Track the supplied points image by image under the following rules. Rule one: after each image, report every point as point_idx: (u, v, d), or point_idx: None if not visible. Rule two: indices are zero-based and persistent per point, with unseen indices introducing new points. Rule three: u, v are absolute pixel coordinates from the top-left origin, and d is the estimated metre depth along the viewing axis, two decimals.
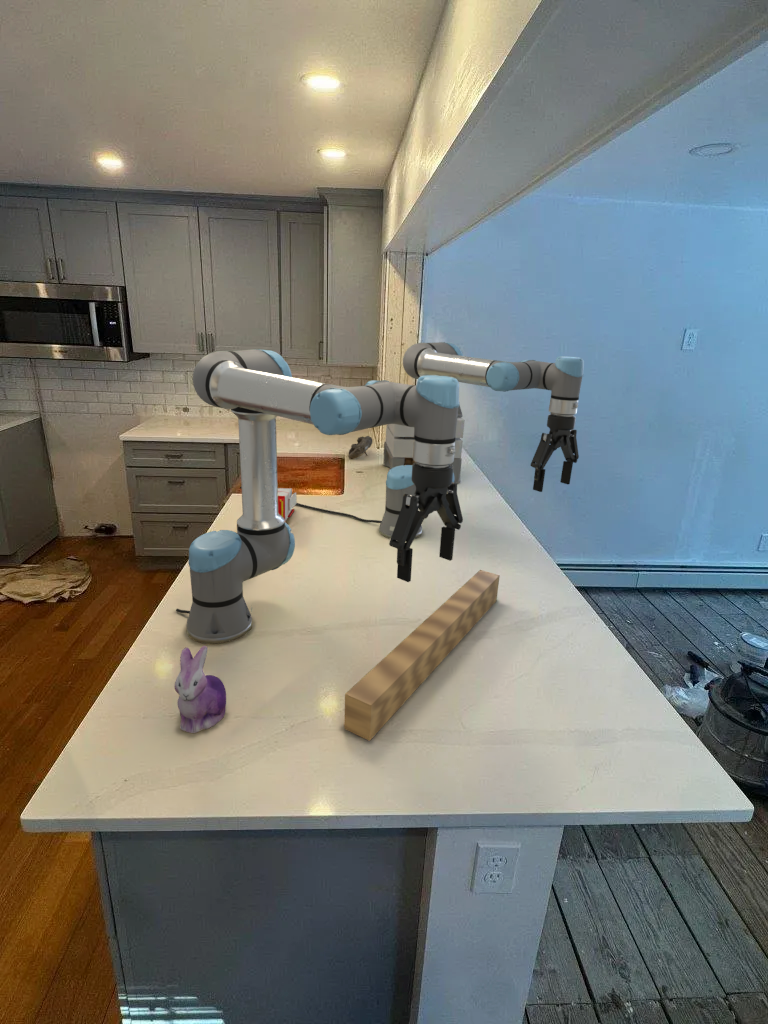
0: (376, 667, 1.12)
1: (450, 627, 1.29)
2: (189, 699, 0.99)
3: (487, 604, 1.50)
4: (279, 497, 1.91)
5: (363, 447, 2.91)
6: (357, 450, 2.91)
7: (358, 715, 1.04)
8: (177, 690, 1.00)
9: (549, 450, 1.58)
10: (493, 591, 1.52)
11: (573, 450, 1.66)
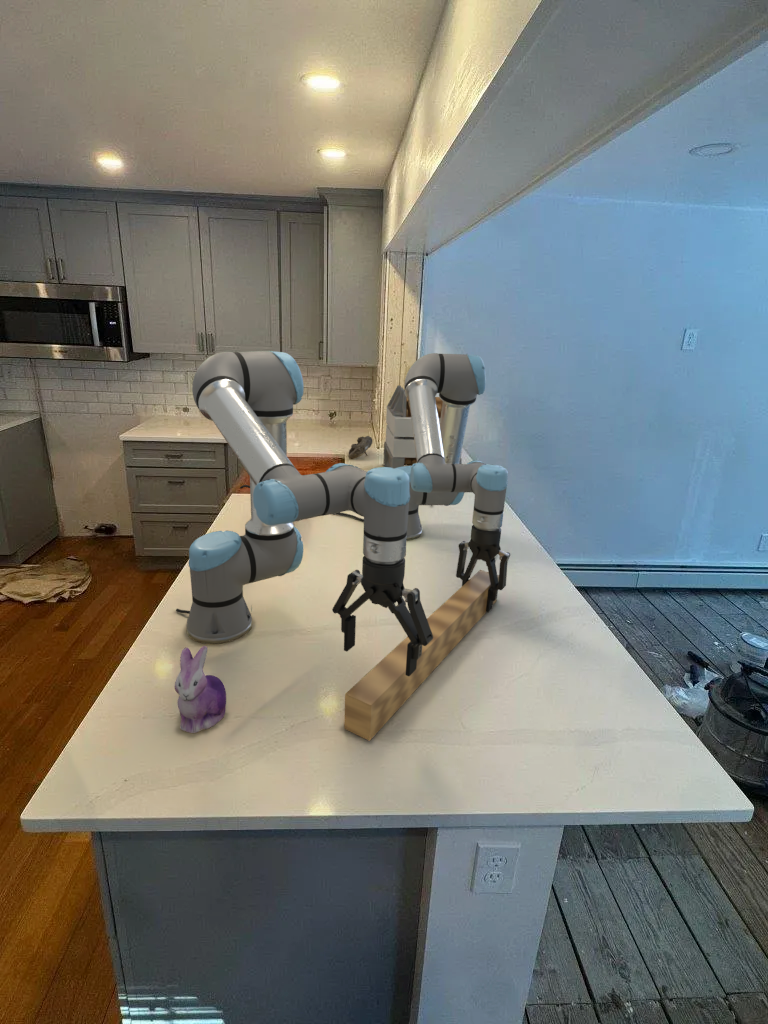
0: (376, 667, 1.12)
1: (450, 627, 1.29)
2: (189, 699, 0.99)
3: None
4: None
5: (363, 447, 2.91)
6: (357, 450, 2.91)
7: (358, 715, 1.04)
8: (177, 690, 1.00)
9: None
10: None
11: None
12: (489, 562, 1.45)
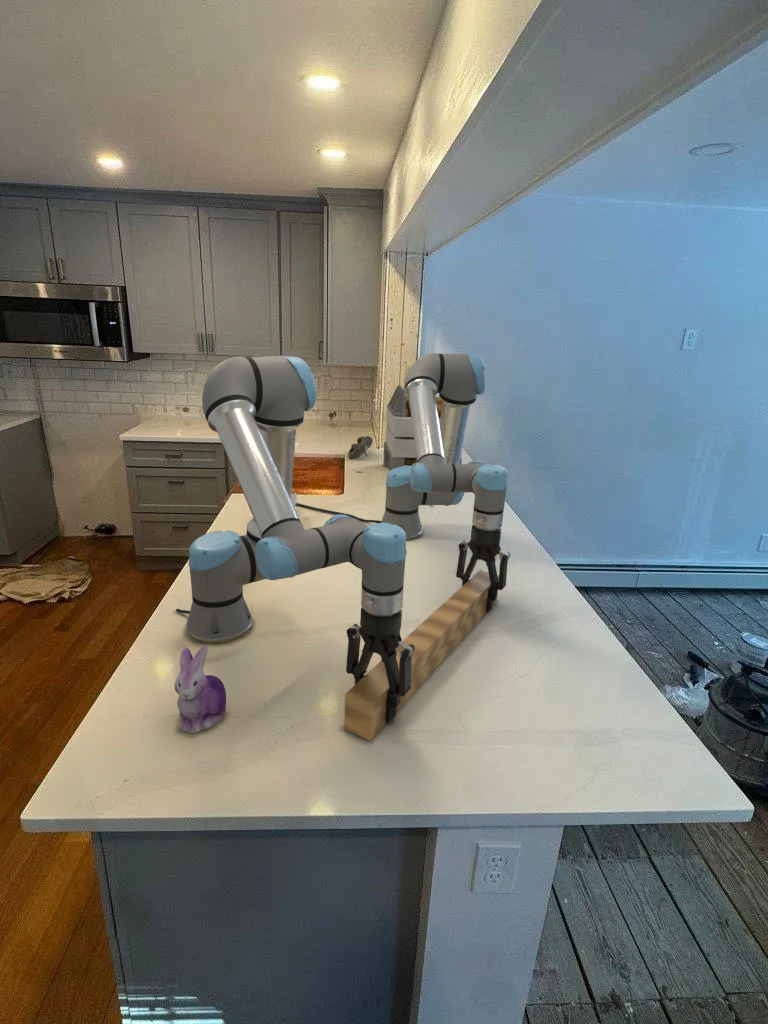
0: (376, 667, 1.12)
1: (450, 627, 1.29)
2: (189, 699, 0.99)
3: None
4: None
5: (363, 447, 2.91)
6: (357, 450, 2.91)
7: (358, 715, 1.04)
8: (177, 690, 1.00)
9: None
10: None
11: None
12: (489, 562, 1.45)
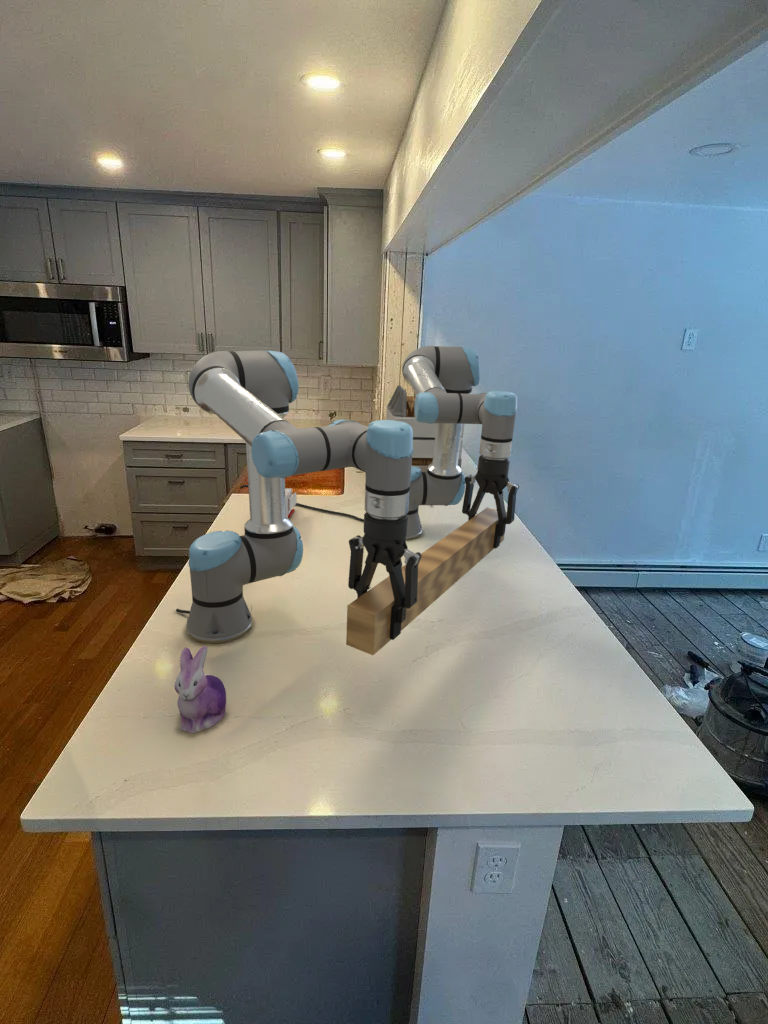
0: (380, 584, 1.06)
1: (457, 553, 1.23)
2: (189, 699, 0.99)
3: None
4: None
5: None
6: None
7: (361, 628, 0.98)
8: (177, 690, 1.00)
9: None
10: None
11: None
12: (497, 494, 1.39)
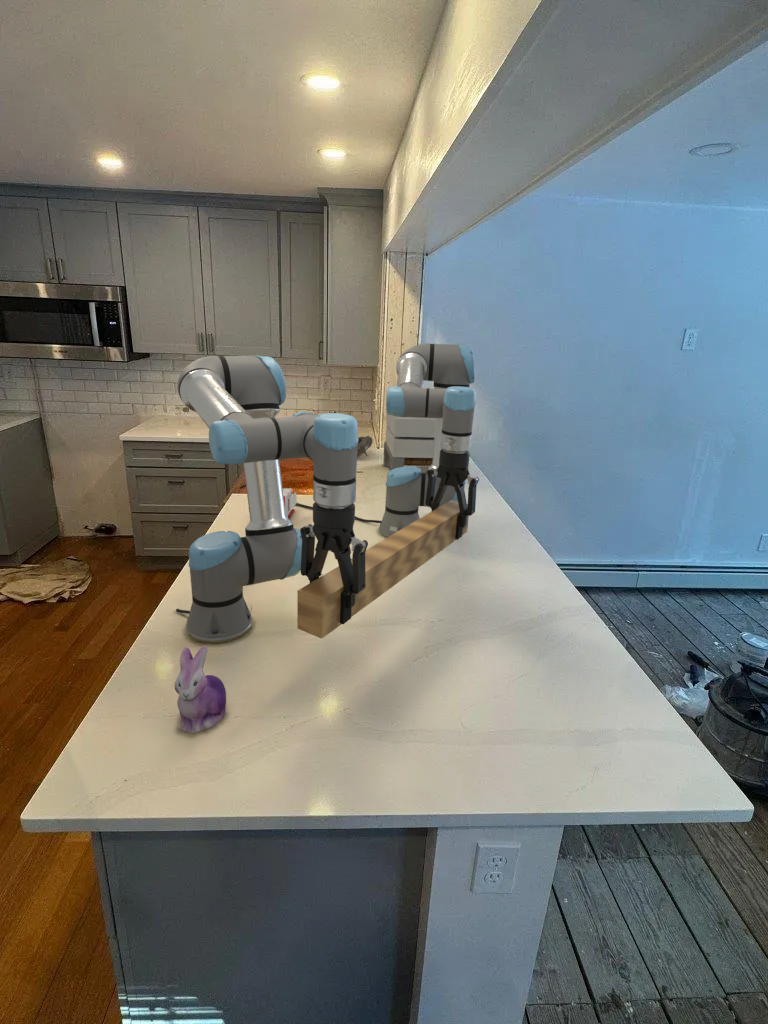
0: (332, 571, 1.10)
1: (413, 543, 1.27)
2: (189, 699, 0.99)
3: None
4: None
5: (363, 447, 2.91)
6: (357, 450, 2.91)
7: (310, 612, 1.02)
8: (177, 690, 1.00)
9: None
10: None
11: None
12: (458, 487, 1.43)
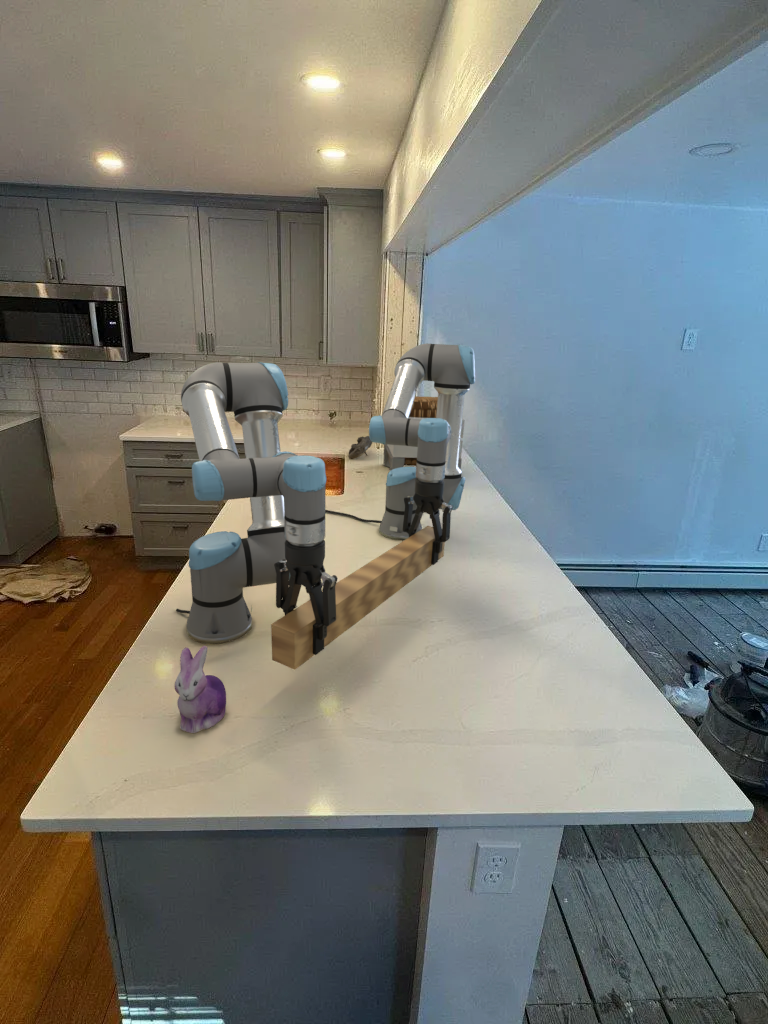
0: (306, 603, 1.15)
1: (387, 572, 1.32)
2: (189, 699, 0.99)
3: None
4: None
5: (363, 447, 2.91)
6: (357, 450, 2.91)
7: (283, 645, 1.07)
8: (177, 690, 1.00)
9: None
10: None
11: None
12: (432, 514, 1.48)
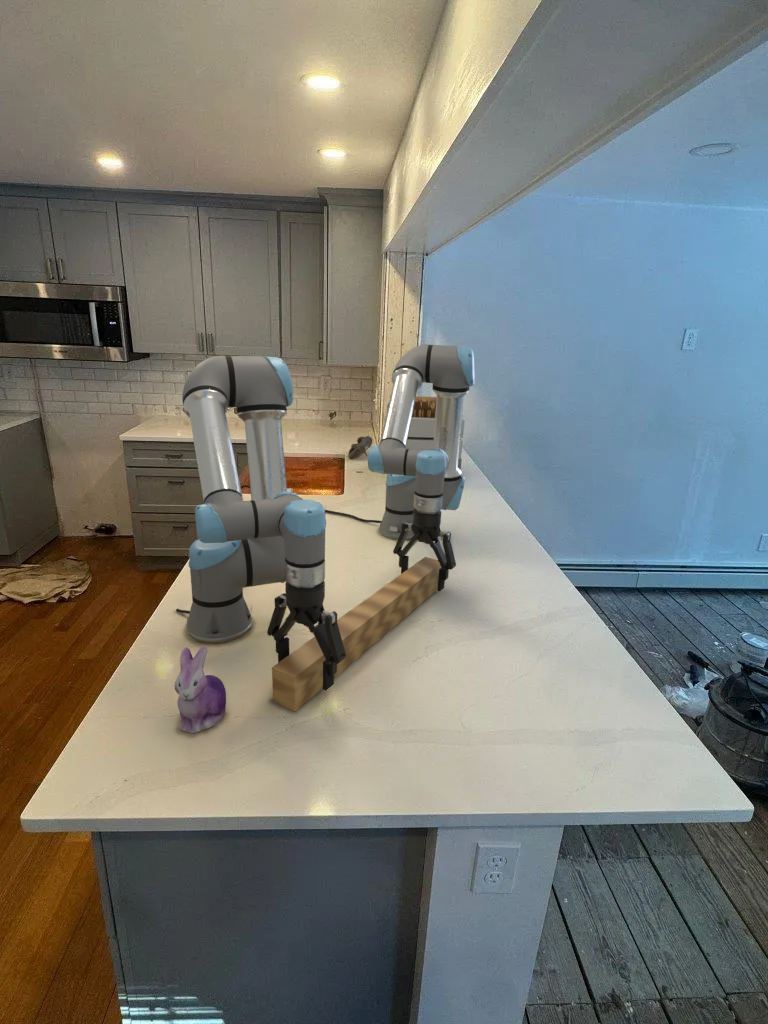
0: (306, 644, 1.18)
1: (385, 608, 1.35)
2: (189, 699, 0.99)
3: (430, 589, 1.56)
4: None
5: (363, 447, 2.91)
6: (357, 450, 2.91)
7: (283, 687, 1.10)
8: (177, 690, 1.00)
9: (409, 541, 1.55)
10: (436, 576, 1.58)
11: None
12: (432, 543, 1.50)
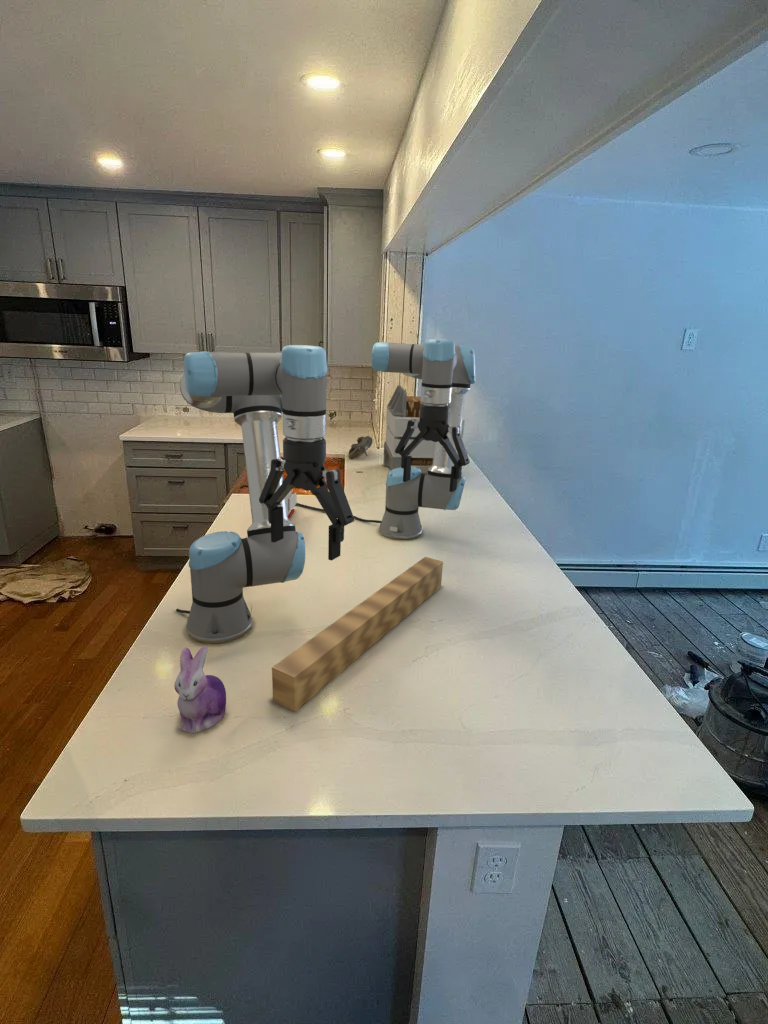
0: (306, 644, 1.18)
1: (385, 608, 1.35)
2: (189, 699, 0.99)
3: (430, 589, 1.56)
4: None
5: (363, 447, 2.91)
6: (357, 450, 2.91)
7: (283, 687, 1.10)
8: (177, 690, 1.00)
9: None
10: (436, 576, 1.58)
11: None
12: (441, 439, 1.41)
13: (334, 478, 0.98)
